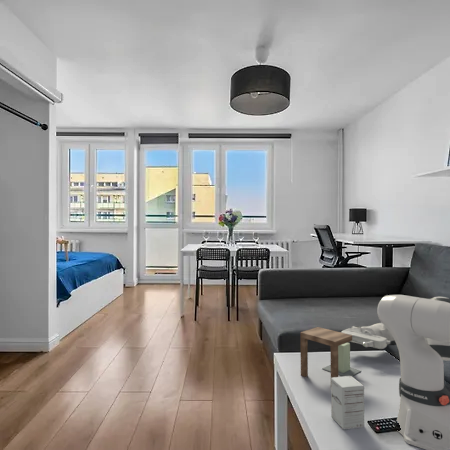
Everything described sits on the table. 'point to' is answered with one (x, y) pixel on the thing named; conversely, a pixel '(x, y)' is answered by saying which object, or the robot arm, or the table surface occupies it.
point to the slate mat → (348, 373)
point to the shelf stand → (322, 337)
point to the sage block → (344, 357)
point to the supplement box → (347, 402)
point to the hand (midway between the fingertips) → (354, 342)
